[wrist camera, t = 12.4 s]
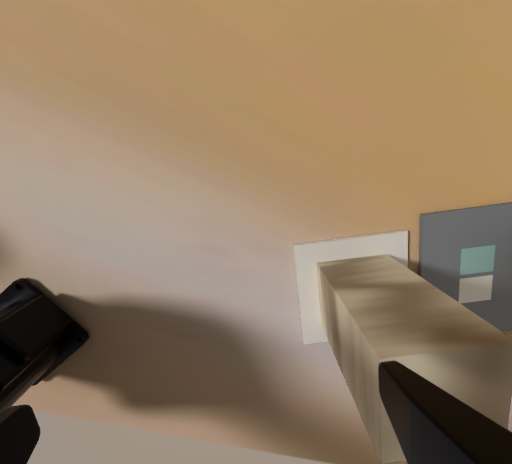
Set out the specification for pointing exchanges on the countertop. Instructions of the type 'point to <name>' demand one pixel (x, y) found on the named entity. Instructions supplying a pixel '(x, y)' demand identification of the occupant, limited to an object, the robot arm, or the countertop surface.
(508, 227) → the gray tile
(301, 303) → the pad
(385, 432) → the birch block
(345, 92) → the countertop surface
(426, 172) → the countertop surface
